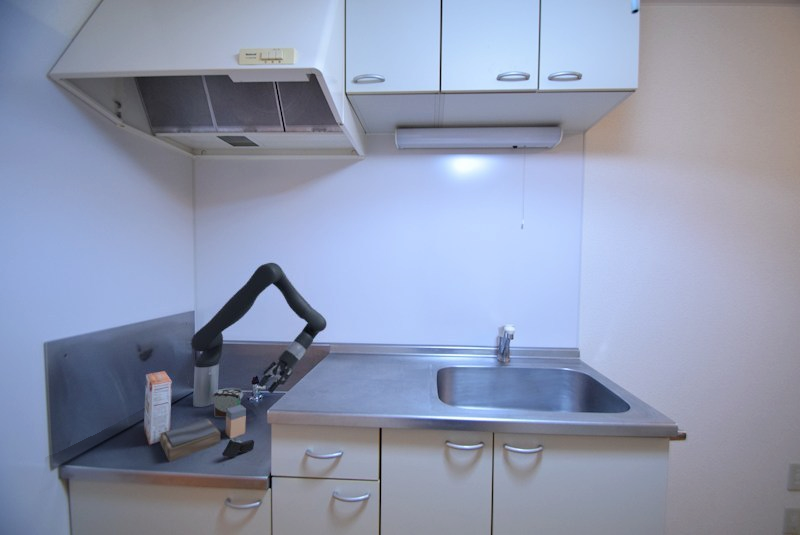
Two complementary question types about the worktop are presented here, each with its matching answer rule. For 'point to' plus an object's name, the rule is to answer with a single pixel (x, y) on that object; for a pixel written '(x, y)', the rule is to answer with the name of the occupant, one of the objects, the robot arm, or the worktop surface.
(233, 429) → the block
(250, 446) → the lighter
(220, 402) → the food container
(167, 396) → the cracker box
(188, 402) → the worktop surface
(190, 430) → the stand
